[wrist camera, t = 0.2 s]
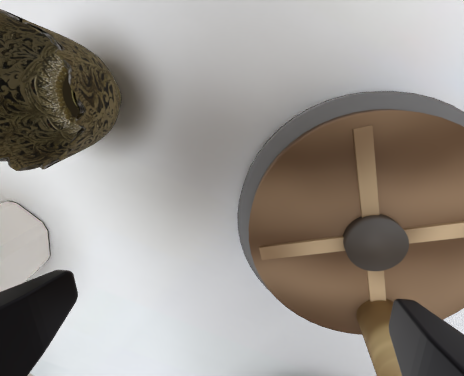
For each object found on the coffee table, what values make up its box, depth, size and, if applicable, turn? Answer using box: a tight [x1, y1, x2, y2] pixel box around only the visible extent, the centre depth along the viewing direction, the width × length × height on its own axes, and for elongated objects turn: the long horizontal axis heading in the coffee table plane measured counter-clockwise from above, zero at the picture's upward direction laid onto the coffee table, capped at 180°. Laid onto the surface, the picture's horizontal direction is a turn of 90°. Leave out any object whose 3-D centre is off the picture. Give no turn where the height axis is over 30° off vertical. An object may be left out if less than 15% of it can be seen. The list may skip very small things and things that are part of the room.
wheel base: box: [238, 91, 464, 292], centre depth 20 cm, size 18×18×2 cm
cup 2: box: [0, 9, 121, 171], centre depth 17 cm, size 8×7×8 cm
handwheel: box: [249, 109, 464, 376], centre depth 16 cm, size 16×16×6 cm
